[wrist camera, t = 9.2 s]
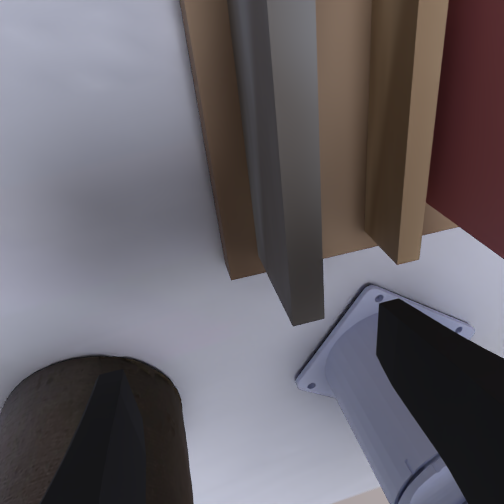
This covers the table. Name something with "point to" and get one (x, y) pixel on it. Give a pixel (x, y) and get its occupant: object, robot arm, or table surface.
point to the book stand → (317, 132)
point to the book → (471, 123)
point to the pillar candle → (66, 422)
